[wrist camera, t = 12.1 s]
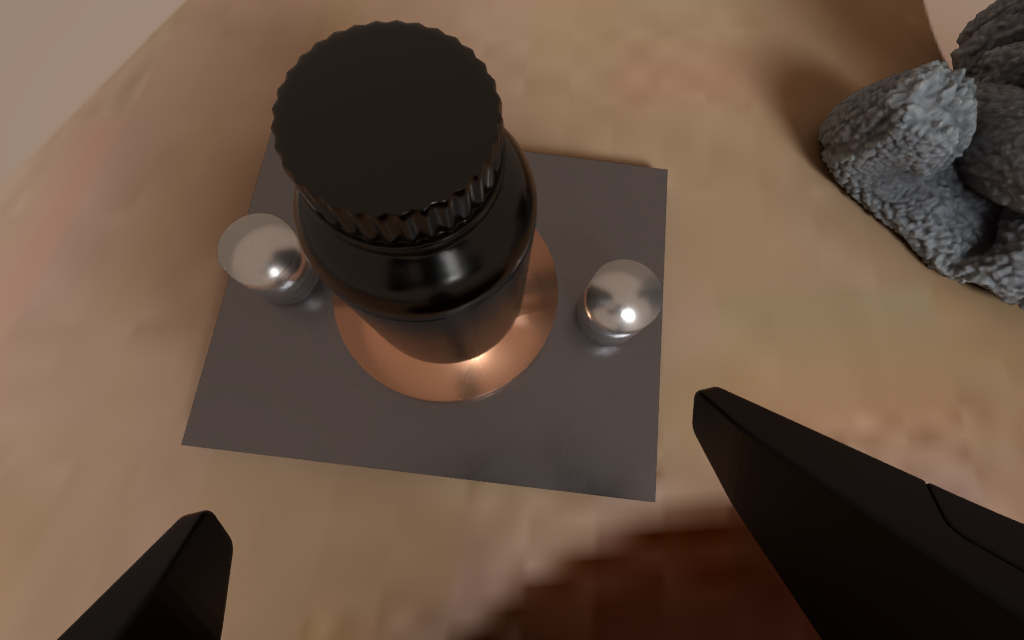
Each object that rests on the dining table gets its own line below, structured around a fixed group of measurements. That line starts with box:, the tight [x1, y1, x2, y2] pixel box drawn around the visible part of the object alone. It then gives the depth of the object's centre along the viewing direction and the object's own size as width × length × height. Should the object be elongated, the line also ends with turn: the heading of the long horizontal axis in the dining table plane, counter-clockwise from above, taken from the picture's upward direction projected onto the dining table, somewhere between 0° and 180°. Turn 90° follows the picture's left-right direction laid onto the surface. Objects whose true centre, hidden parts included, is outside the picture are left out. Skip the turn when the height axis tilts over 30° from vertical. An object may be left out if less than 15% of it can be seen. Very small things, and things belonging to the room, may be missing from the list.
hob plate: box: [181, 132, 668, 502], centre depth 21 cm, size 20×16×4 cm
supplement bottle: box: [271, 20, 537, 364], centre depth 16 cm, size 7×7×12 cm
